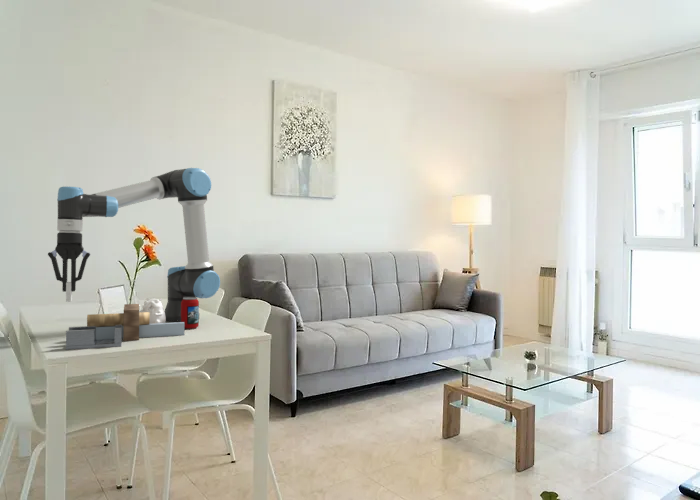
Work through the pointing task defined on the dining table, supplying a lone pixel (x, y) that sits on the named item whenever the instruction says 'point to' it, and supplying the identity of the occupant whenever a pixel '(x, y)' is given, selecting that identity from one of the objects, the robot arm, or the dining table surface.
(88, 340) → the cradle
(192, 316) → the beverage can
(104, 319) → the dowel
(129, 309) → the brown wooden block
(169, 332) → the rail
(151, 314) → the figurine
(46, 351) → the dining table surface
